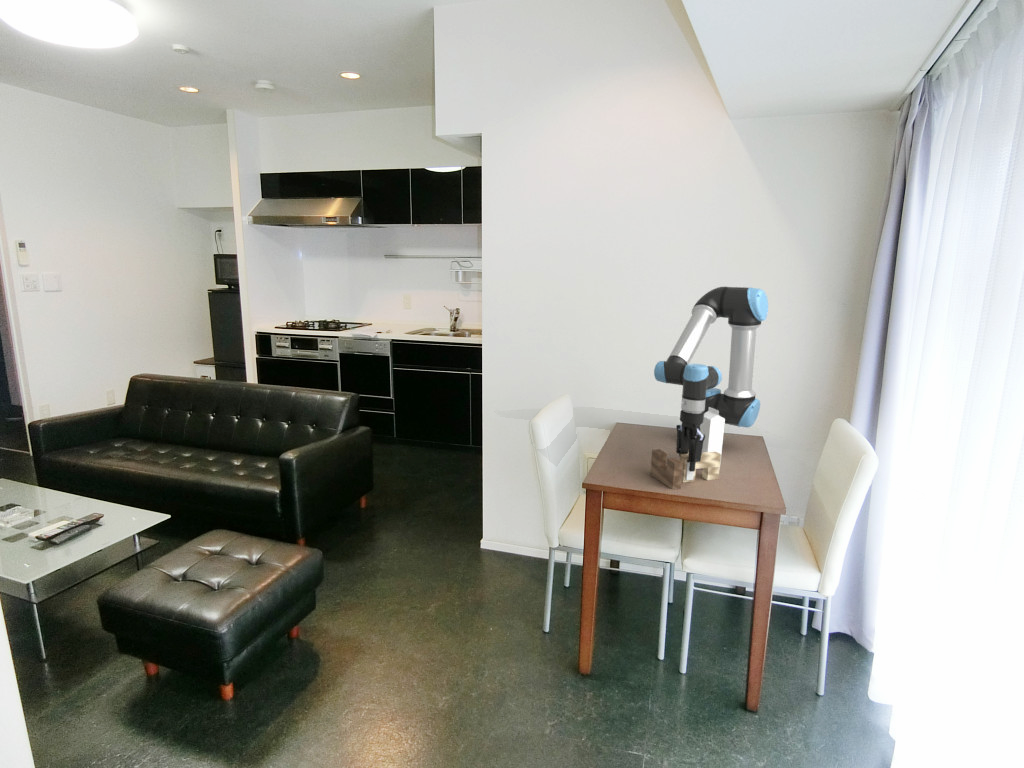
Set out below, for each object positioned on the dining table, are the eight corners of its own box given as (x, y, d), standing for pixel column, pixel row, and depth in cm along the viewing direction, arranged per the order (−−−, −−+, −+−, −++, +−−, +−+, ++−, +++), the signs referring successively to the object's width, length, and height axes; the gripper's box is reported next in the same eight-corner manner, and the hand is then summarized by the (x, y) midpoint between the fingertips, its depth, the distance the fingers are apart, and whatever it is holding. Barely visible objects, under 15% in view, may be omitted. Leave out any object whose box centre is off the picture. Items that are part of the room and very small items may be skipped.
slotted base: (657, 473, 205) (659, 449, 204) (680, 488, 192) (682, 462, 191) (650, 474, 204) (652, 449, 203) (672, 489, 191) (674, 462, 190)
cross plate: (713, 476, 205) (715, 451, 203) (718, 479, 202) (721, 454, 200) (678, 479, 201) (680, 454, 199) (683, 482, 198) (685, 457, 196)
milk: (705, 470, 210) (711, 411, 206) (695, 465, 216) (701, 407, 211) (720, 469, 212) (726, 410, 207) (710, 463, 218) (715, 406, 213)
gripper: (669, 405, 201) (663, 470, 206) (697, 417, 186) (690, 487, 191) (688, 404, 203) (682, 468, 208) (717, 416, 188) (710, 485, 193)
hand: (686, 477), depth 200 cm, fingers closed on cross plate, 3 cm apart
